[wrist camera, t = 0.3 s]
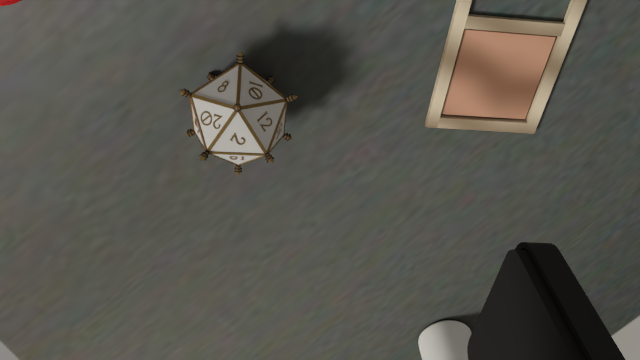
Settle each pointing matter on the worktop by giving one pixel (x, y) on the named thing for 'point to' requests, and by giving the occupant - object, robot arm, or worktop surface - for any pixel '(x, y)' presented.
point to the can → (445, 341)
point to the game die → (238, 115)
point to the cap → (8, 2)
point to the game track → (498, 70)
